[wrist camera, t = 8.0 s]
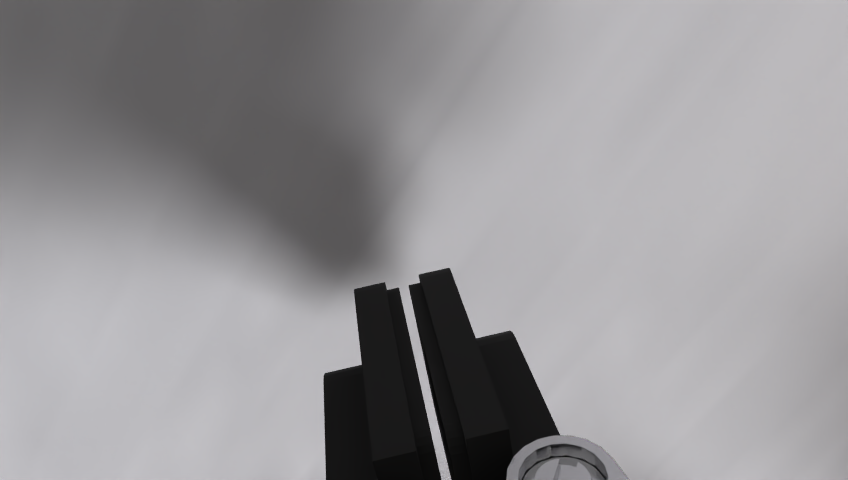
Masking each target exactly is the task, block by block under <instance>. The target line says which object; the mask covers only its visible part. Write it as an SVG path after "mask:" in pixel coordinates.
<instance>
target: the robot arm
mask: <svg viewBox="0 0 848 480" xmlns="http://www.w3.org/2000/svg"><path fill="white" fill-rule="evenodd" d="M419 279H420V283H417V284H413V285H409V290H410V295H411V299H412V304H413V309H414V314H415V318H416V323H417V328H418V332H419V337H420V342H421V346H422V351H423V356H424V360H425V365H426V370H427V375H428V379H429V384H430V389H431V393H432V398H433V403H434V407H435V412H436V416H437V421H438V425H439V429H440V433H441V437H442V442H443V446H444V450H445V454H446V458H447V463H448V467H449V471H450V475H451V479H452V480H629V478H628V477H627V476H626V474H625V473H624V472H623V470H622V469H621V468H620V467H619V465H618V464H617V463H616V461H615V460H614V459H613V457H611V456H610V455H609V454H608V453H607V452H606V451H605V450H604V449H603V448H602V447H601V446H599V445H597V444H595V443H593V442H591V441H589V440H587V439H583V438H579V437H575V436H564V435H560V434H559V432H558V430H557V428H556V425H555V423H554V421H553V419H552V417H551V414H550V412H549V410H548V408H547V406H546V404H545V401H544V399H543V397H542V395H541V393H540V390H539V388H538V386H537V384H536V382H535V379H534V377H533V375H532V373H531V371H530V369H529V366H528V364H527V362H526V360H525V358H524V355H523V353H522V351H521V349H520V347H519V344H518V342H517V340H516V338H515V336H514V334H513V332H511V331H507V332H503V333H498V334H494V335H489V336H485V337H481V338H475V335H474V333H473V330H472V327H471V324H470V322H469V319H468V316H467V313H466V311H465V308H464V305H463V303H462V300H461V297H460V294H459V292H458V289H457V286H456V284H455V281H454V278H453V275H452V273H451V270H450V268H446V269H442V270H437V271H433V272H429V273H424V274H420V275H419ZM354 295H355V304H356V313H357V323H358V332H359V341H360V351H361V360H362V365H359V366H355V367H350V368H346V369H342V370H337V371H333V372H329V373H325V374H324V416H325V455H326V480H441V476H440V472H439V467H438V463H437V458H436V454H435V449H434V445H433V440H432V436H431V431H430V427H429V422H428V418H427V413H426V409H425V404H424V400H423V395H422V391H421V386H420V381H419V377H418V372H417V368H416V363H415V359H414V354H413V350H412V345H411V341H410V336H409V332H408V327H407V323H406V318H405V314H404V309H403V305H402V300H401V296H400V291H399V288H395V289H391V290H387V289H386V285H385V282H384V283H379V284H375V285H370V286H366V287H362V288H357V289H354Z"/></svg>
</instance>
